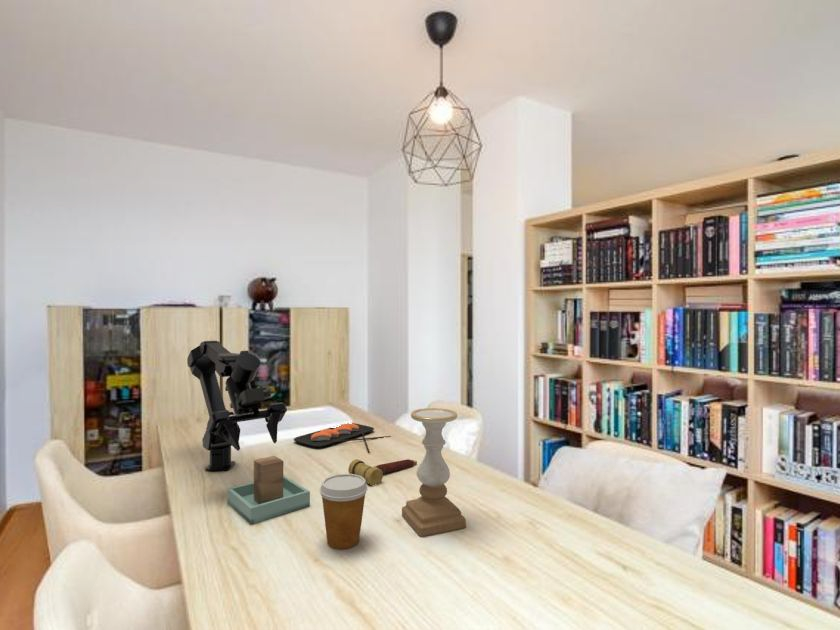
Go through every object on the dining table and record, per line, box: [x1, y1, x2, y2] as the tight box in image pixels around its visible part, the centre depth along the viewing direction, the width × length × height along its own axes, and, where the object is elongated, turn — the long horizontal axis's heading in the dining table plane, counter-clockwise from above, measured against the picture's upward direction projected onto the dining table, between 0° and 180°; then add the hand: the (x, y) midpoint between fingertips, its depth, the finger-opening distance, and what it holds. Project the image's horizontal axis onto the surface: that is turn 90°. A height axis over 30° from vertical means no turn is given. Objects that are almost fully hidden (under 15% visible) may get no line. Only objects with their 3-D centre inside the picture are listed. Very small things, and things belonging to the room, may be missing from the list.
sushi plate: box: [293, 422, 392, 454], centre depth 159 cm, size 29×30×4 cm
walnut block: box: [253, 455, 284, 504], centre depth 107 cm, size 5×5×10 cm
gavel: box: [348, 458, 418, 486], centre depth 129 cm, size 21×5×10 cm
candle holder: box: [401, 407, 467, 538], centre depth 100 cm, size 11×11×24 cm
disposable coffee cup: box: [319, 473, 369, 550], centre depth 91 cm, size 10×10×12 cm
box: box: [226, 474, 311, 525], centre depth 107 cm, size 14×14×4 cm
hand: (257, 445), depth 112 cm, fingers open, 9 cm apart
